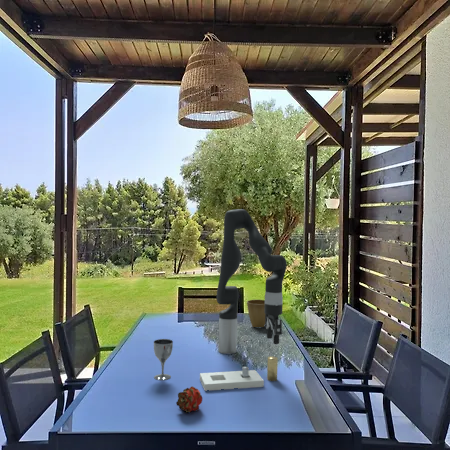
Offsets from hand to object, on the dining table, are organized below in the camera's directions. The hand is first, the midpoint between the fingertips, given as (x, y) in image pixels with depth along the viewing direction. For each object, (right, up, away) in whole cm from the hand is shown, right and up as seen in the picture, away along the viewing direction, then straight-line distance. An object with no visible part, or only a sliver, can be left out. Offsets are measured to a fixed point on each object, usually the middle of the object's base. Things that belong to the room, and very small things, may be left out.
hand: (272, 341), depth 173 cm
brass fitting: (0, -16, 0) cm, 16 cm away
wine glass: (-46, -15, 0) cm, 49 cm away
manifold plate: (-18, -16, -5) cm, 24 cm away
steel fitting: (-12, -16, -4) cm, 20 cm away
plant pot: (+1, -16, +90) cm, 91 cm away
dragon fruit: (-32, -16, -30) cm, 47 cm away
